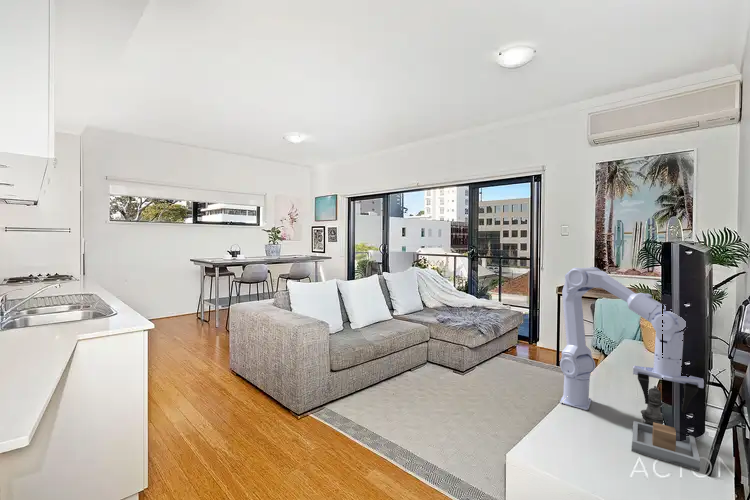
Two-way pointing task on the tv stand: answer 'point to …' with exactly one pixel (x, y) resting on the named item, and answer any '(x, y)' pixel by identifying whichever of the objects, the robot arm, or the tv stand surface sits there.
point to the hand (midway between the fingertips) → (664, 406)
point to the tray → (682, 456)
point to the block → (664, 436)
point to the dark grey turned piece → (653, 408)
